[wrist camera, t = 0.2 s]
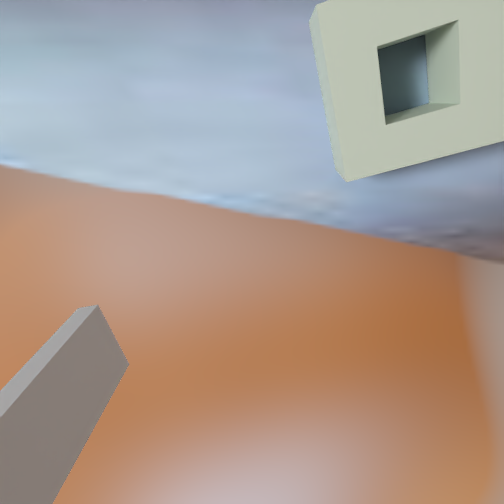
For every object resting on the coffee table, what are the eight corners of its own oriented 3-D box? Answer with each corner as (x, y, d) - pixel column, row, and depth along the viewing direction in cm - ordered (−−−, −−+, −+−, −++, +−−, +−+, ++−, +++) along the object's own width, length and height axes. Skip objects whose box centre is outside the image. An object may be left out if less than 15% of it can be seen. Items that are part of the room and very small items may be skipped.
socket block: (308, 22, 30) (316, 5, 24) (471, -36, 27) (520, -70, 22) (335, 169, 35) (346, 182, 30) (472, 132, 33) (511, 138, 27)
